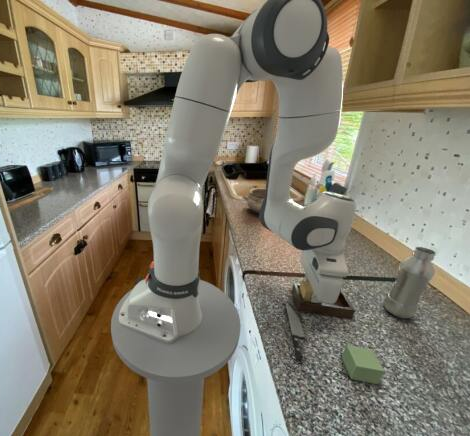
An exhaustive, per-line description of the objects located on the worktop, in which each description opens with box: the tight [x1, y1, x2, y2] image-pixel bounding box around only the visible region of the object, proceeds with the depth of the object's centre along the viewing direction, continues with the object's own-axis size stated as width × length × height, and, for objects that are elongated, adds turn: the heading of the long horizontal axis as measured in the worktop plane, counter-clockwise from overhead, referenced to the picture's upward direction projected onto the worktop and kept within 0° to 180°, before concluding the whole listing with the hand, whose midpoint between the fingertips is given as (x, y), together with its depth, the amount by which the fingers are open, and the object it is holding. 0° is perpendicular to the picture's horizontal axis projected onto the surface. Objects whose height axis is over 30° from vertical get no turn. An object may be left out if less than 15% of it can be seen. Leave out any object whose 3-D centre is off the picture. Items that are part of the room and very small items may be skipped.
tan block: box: [299, 280, 322, 304], centre depth 70 cm, size 5×5×4 cm
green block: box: [341, 344, 385, 385], centre depth 51 cm, size 5×5×4 cm
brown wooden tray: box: [291, 282, 356, 320], centre depth 70 cm, size 14×9×3 cm, turn 78°
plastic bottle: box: [383, 246, 437, 319], centre depth 64 cm, size 6×7×20 cm
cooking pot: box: [241, 187, 266, 215], centre depth 134 cm, size 25×19×12 cm
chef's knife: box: [284, 301, 306, 361], centre depth 62 cm, size 19×1×3 cm
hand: (310, 293), depth 70 cm, fingers closed on tan block, 5 cm apart
